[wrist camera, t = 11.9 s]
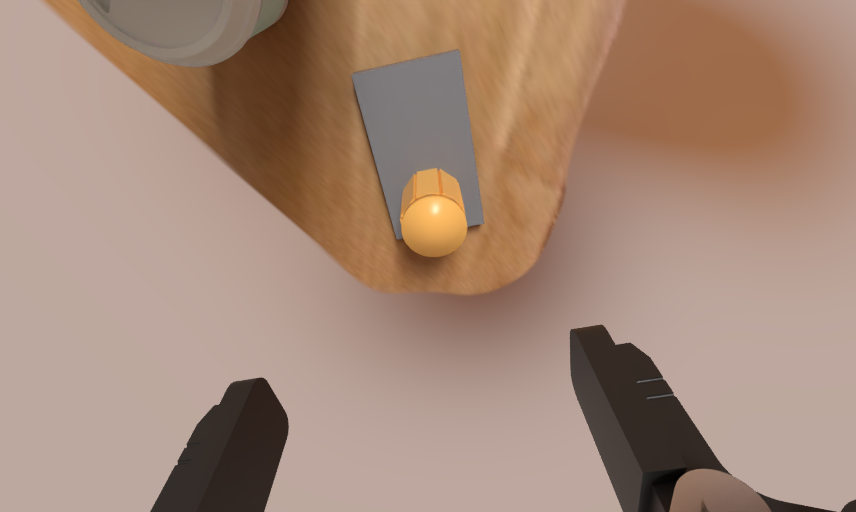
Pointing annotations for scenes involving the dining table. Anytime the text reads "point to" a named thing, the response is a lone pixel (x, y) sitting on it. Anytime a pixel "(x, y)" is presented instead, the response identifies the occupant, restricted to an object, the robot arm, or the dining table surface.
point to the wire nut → (433, 213)
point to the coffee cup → (185, 26)
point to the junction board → (419, 127)
